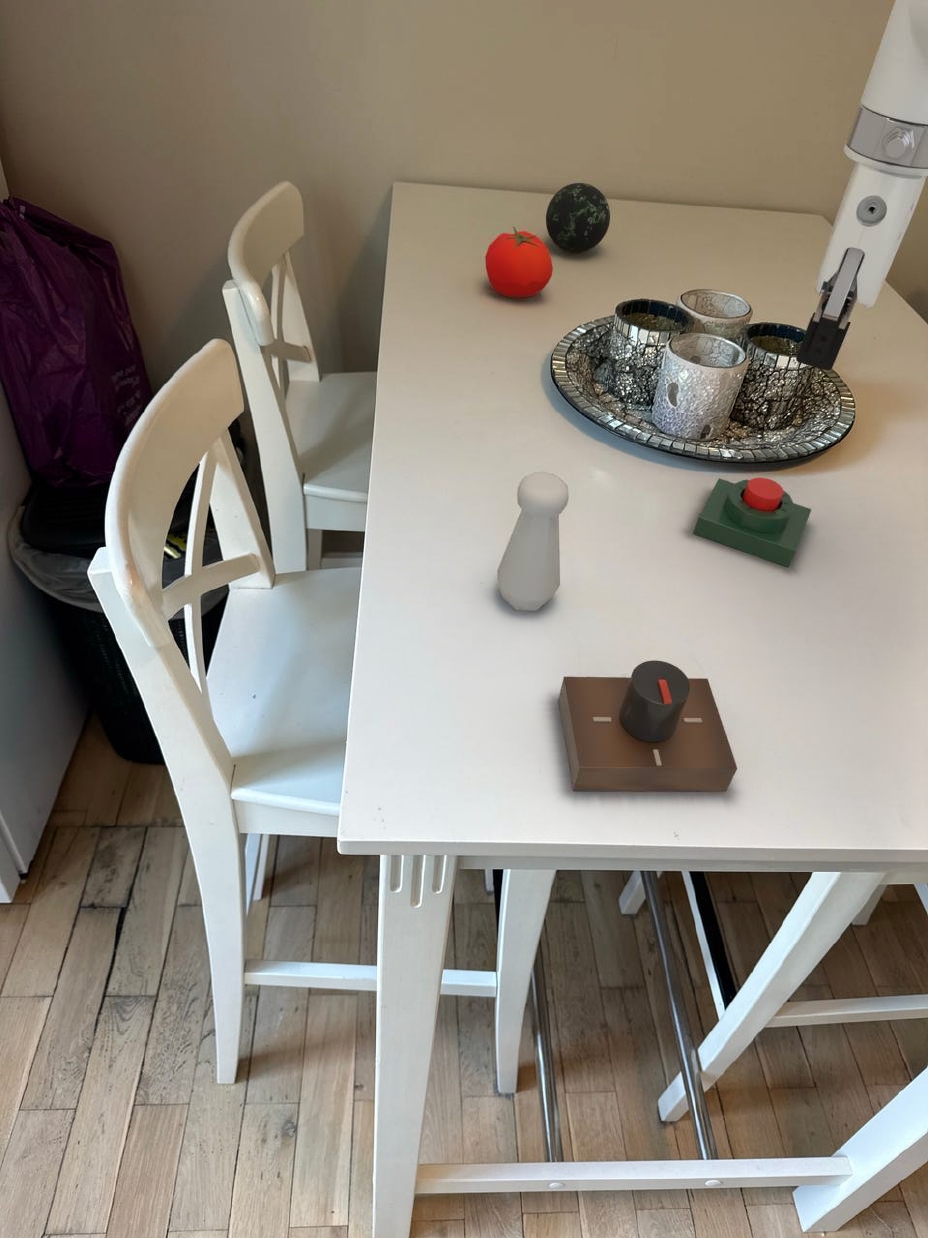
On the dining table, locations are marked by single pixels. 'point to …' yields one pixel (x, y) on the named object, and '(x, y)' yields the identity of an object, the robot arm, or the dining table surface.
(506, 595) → the salt shaker
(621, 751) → the panel
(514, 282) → the tomato
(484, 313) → the dining table surface
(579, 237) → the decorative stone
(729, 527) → the button box
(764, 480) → the button
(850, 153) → the robot arm
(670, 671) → the knob
